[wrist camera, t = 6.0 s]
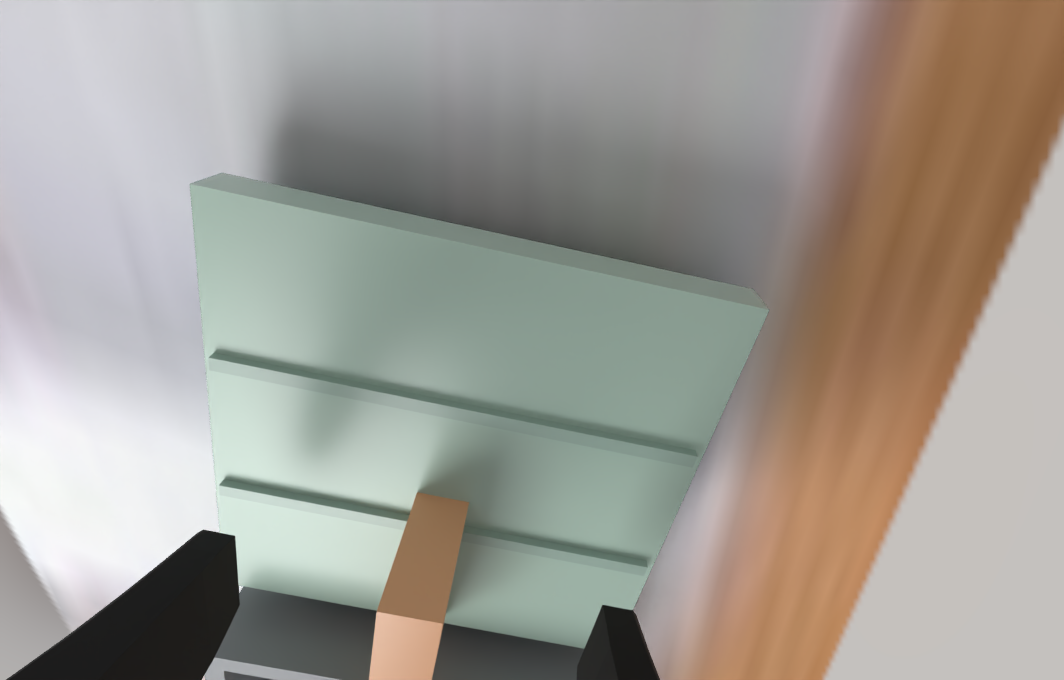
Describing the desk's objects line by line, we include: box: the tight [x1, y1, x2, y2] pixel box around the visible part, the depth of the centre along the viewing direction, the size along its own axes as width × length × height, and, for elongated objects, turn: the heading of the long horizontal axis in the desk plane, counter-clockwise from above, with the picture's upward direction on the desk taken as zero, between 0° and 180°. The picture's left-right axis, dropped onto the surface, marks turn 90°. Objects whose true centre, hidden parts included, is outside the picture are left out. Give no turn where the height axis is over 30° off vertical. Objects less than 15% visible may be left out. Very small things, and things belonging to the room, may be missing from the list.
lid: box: [190, 173, 769, 680], centre depth 12 cm, size 10×10×5 cm
